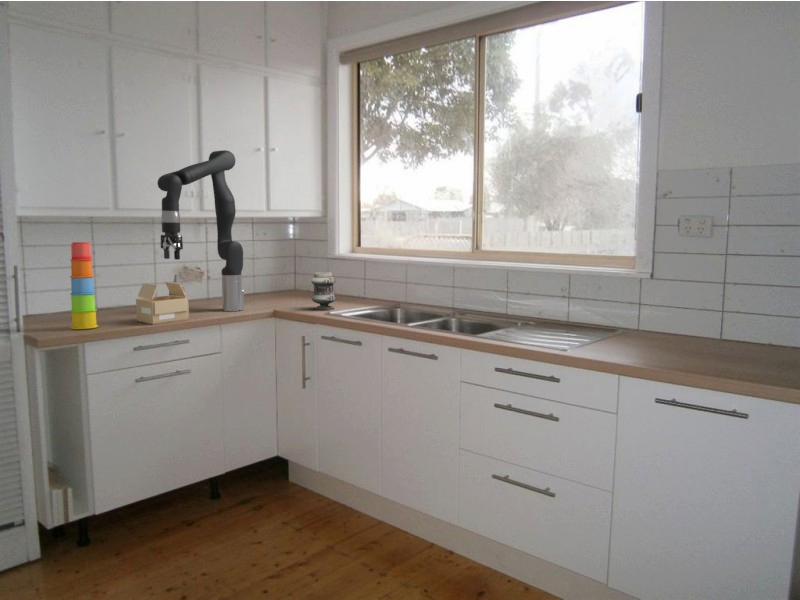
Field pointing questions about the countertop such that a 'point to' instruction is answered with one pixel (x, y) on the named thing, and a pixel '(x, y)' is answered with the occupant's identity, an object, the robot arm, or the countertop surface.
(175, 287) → the flap
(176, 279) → the squeeze bottle
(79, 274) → the stacking cups
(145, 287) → the flap
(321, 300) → the apothecary jar
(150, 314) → the carton
